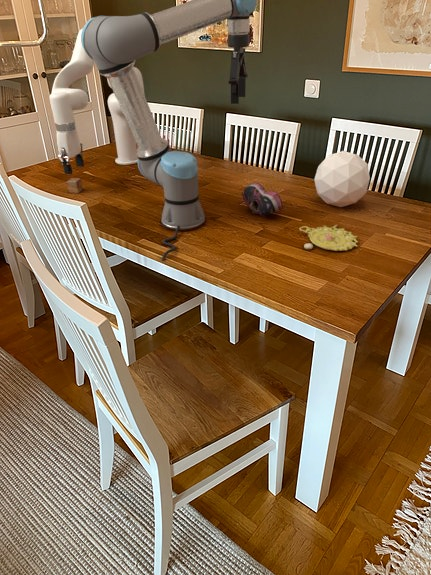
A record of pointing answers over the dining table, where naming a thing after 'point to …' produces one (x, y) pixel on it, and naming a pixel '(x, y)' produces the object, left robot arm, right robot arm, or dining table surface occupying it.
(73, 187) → the block
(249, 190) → the athletic shoe
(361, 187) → the sphere
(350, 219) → the dining table surface
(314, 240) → the decorative object
